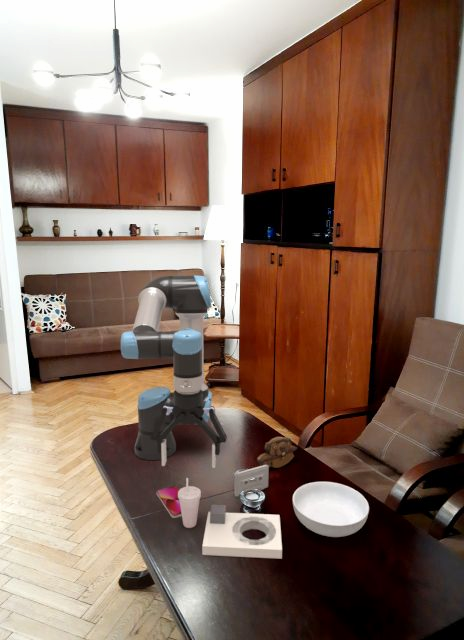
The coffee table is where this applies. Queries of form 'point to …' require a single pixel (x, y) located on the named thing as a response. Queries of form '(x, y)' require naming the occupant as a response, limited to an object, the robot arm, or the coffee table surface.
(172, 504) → the smartphone
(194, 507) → the smoothie
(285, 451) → the wooden carving
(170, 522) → the coffee table surface
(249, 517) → the dock plate
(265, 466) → the cassette
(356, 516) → the serving bowl
